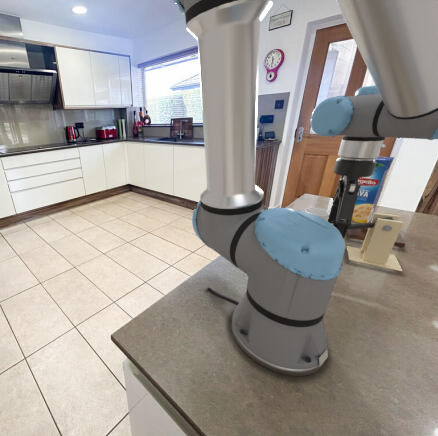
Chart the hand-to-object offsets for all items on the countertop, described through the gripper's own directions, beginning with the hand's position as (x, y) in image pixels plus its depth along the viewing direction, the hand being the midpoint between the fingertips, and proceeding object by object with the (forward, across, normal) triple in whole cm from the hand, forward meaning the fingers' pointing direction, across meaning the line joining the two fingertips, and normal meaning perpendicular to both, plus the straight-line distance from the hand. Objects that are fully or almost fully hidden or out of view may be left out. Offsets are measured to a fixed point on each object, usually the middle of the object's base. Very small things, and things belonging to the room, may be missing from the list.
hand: (332, 236), depth 65 cm
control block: (+5, +15, -11) cm, 20 cm away
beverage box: (+5, +32, -7) cm, 34 cm away
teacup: (+5, +20, +4) cm, 21 cm away
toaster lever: (-3, 0, -5) cm, 6 cm away
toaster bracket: (+5, 0, -9) cm, 11 cm away
